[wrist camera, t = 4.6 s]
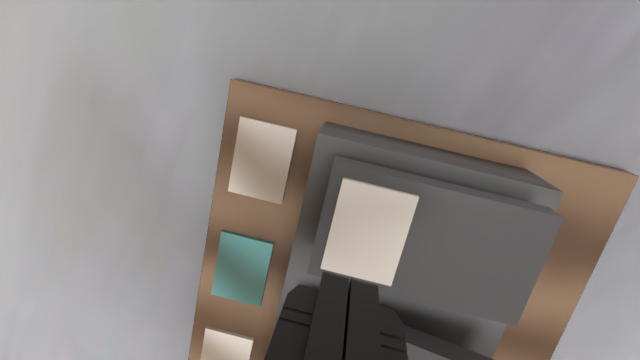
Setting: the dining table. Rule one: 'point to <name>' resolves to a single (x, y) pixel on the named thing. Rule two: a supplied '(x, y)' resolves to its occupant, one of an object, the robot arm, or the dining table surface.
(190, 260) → the dining table surface
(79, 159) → the dining table surface
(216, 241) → the switch panel
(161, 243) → the dining table surface
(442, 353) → the block
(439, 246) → the rocker
